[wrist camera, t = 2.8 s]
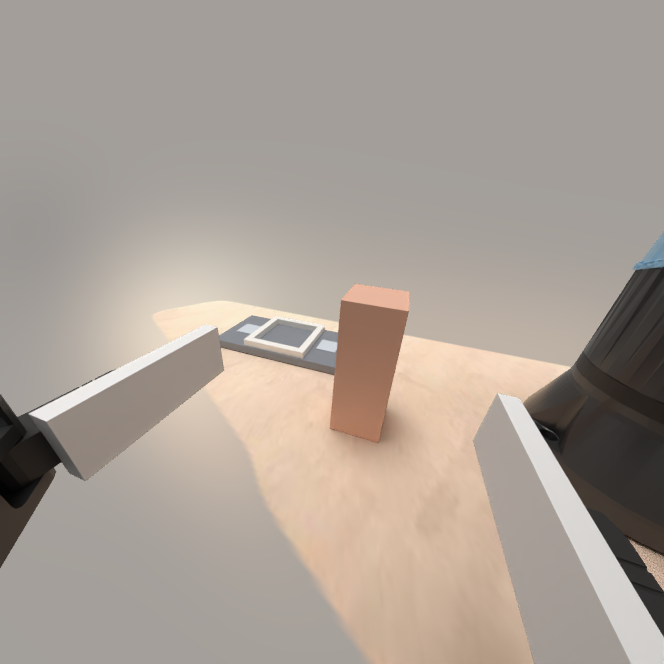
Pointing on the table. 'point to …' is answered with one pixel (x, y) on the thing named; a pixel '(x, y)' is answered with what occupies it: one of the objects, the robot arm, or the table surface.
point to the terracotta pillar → (367, 358)
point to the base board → (284, 342)
